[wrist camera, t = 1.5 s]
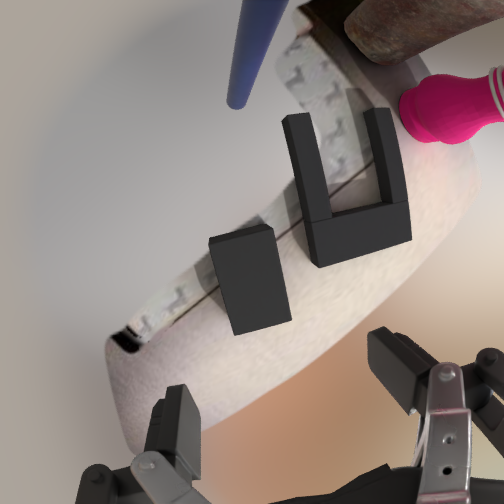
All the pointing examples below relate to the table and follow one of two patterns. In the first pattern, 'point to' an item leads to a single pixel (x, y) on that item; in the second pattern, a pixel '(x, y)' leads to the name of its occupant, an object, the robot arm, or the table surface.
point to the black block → (250, 278)
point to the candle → (414, 25)
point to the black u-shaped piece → (358, 219)
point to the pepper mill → (453, 106)
